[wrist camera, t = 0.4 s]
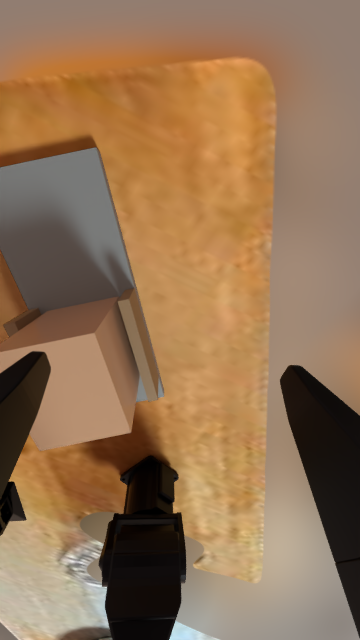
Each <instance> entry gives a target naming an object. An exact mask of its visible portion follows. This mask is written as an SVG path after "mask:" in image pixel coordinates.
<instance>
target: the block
mask: <svg viewBox="0 0 360 640" xmlns="http://www.w3.org/2000/svg"><path fill="white" fill-rule="evenodd" d="M118 300H119V296H118V297H113V298H108V299H104V300H99V301H94V302H89V303H84V304H79V305H74V306H69V307H65V308H60V309H55V310H50V311H47V312H45V313H44V314H42V315H41V316H40V317H38V318H37V319H35V320H34V321H32V322H31V323H29V324H28V325H27V326H25V327H24V328H22V329H21V330H19V331H18V332H16V333H15V334H14V335H12V336H11V337H9V338H8V339H6V340H5V341H3V342H2V343H1V344H0V373H1V372H3V371H4V370H6V369H7V368H8V367H10V366H11V365H13V364H14V363H15V362H17V361H18V360H20V359H21V358H22V357H24V356H25V355H27V354H28V353H30V352H32V351H42V352H45V353H46V355H47V357H48V360H49V363H50V366H51V373H50V376H49V380H48V383H47V386H46V389H45V392H44V396H43V399H42V402H41V405H40V409H39V411H38V414H37V417H36V419H35V422H34V424H33V426H32V429H31V431H30V433H29V434H30V435H31V437H32V439H33V440H34V442H35V444H36V445H37V447H38V449H39V450H40V451H43V450H48V449H53V448H58V447H63V446H67V445H72V444H77V443H82V442H87V441H92V440H97V439H102V438H107V437H112V436H117V435H122V434H127V433H131V430H132V424H133V418H134V411H135V405H136V399H137V393H138V386H139V380H140V373H139V370H138V366H137V363H136V360H135V357H134V353H133V350H132V347H131V344H130V340H129V337H128V334H127V331H126V327H125V324H124V321H123V318H122V314H121V311H120V308H119V305H118Z"/></svg>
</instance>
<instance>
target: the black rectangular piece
mask: <svg viewBox="0 0 360 640" xmlns="http://www.w3.org/2000/svg"><path fill="white" fill-rule="evenodd" d="M24 520H26V517H25V514H24V511H23V507H22V504H21V501H20V498H19V495H18V492H17V489H16V486H15V483H14V482H8V483H7V486H6V488H5V490H4V493H3V495H2V497H1V500H0V535H2V534H3V532H4V530H5V528H6V526H7V524H8V523H9V521H24Z"/></svg>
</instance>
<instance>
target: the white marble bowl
mask: <svg viewBox="0 0 360 640" xmlns="http://www.w3.org/2000/svg"><path fill="white" fill-rule="evenodd" d="M98 640H112V637H107V638H101V639H98Z"/></svg>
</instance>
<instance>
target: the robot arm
mask: <svg viewBox="0 0 360 640" xmlns="http://www.w3.org/2000/svg"><path fill="white" fill-rule="evenodd" d="M50 373H51V366H50V363H49V360H48V357H47V355H46V353H45V352H42V351H32V352H30V353H28V354H27V355H25V356H24V357H22V358H21V359H20V360H18V361H17V362H15V363H14V364H13V365H11V366H10V367H8V368H7V369H6V370H4V371H3V372H1V373H0V500H1V497H2V495H3V493H4V490H5V488H6V486H7V483H8V481H9V479H10V477H11V474H12V472H13V470H14V467H15V465H16V463H17V461H18V458H19V456H20V454H21V451H22V449H23V447H24V445H25V442H26V440H27V438H28V435H29V433H30V431H31V429H32V426H33V424H34V422H35V419H36V417H37V414H38V411H39V409H40V405H41V402H42V399H43V396H44V392H45V389H46V386H47V383H48V380H49V376H50ZM280 385H281V389H282V394H283V398H284V403H285V407H286V412H287V416H288V420H289V424H290V427H291V430H292V433H293V436H294V439H295V442H296V445H297V448H298V451H299V454H300V457H301V461H302V463H303V467H304V470H305V473H306V476H307V479H308V482H309V485H310V488H311V491H312V494H313V497H314V500H315V503H316V506H317V509H318V512H319V515H320V518H321V521H322V524H323V527H324V531H325V534H326V537H327V540H328V543H329V546H330V549H331V552H332V555H333V558H334V561H335V562H336V563H335V565H336V568H337V571H338V574H339V577H340V580H341V583H342V586H343V589H344V592H345V595H346V598H347V601H348V604H349V607H350V610H351V613H352V616H353V619H354V622H355V625H356V628H357V631H358V634H359V638H360V416H359V415H358V414H357V413H356V412H355V411H354V410H352V409H351V408H350V407H349V406H348V405H346V404H345V403H344V402H343V401H342V400H340V399H339V398H338V397H337V396H336V395H334V394H333V393H332V392H331V391H330V390H329V389H328V388H326V387H325V386H324V385H323V384H322V383H320V382H319V381H318V380H317V379H316V378H315V377H313V376H312V375H311V374H310V373H309V372H308V371H306V370H305V369H304V368H303V367H301V366H298V365H290V366H288V367H287V369H286V370H285V372H284V373H283V375H282V377H281V379H280ZM177 480H178V474H177V473H175V472H174V471H173V470H171V469H170V468H168V467H167V466H166V465H164V464H163V463H161V462H160V461H159V460H157V459H156V458H154V457H153V456H148V457H147V458H145V459H144V460H142V461H141V462H140V463H138V464H137V465H135V466H134V467H132V468H131V469H130V470H128V471H127V472H125V473H124V474H123V475H121V477H120V481H122V482H123V483H125V484H126V485H127V492H126V499H125V506H124V514H119V513H115V514H114V517H113V520H112V521H110V522H109V524H108V529H107V534H106V539H105V542H104V546H103V549H102V552H101V556H100V560H99V567H100V569H101V571H102V577H103V578H102V587H107V593H106V601H105V610H106V614H107V619H108V623H109V628H110V632H111V636H112V640H169V639H170V636H171V632H172V629H173V626H174V623H175V620H176V617H177V614H178V611H179V608H180V604H181V583H185V580H186V549H185V540H184V531H183V523H182V515H181V512H178V513H173V502H174V500H175V498H174V482H175V481H177Z"/></svg>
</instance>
